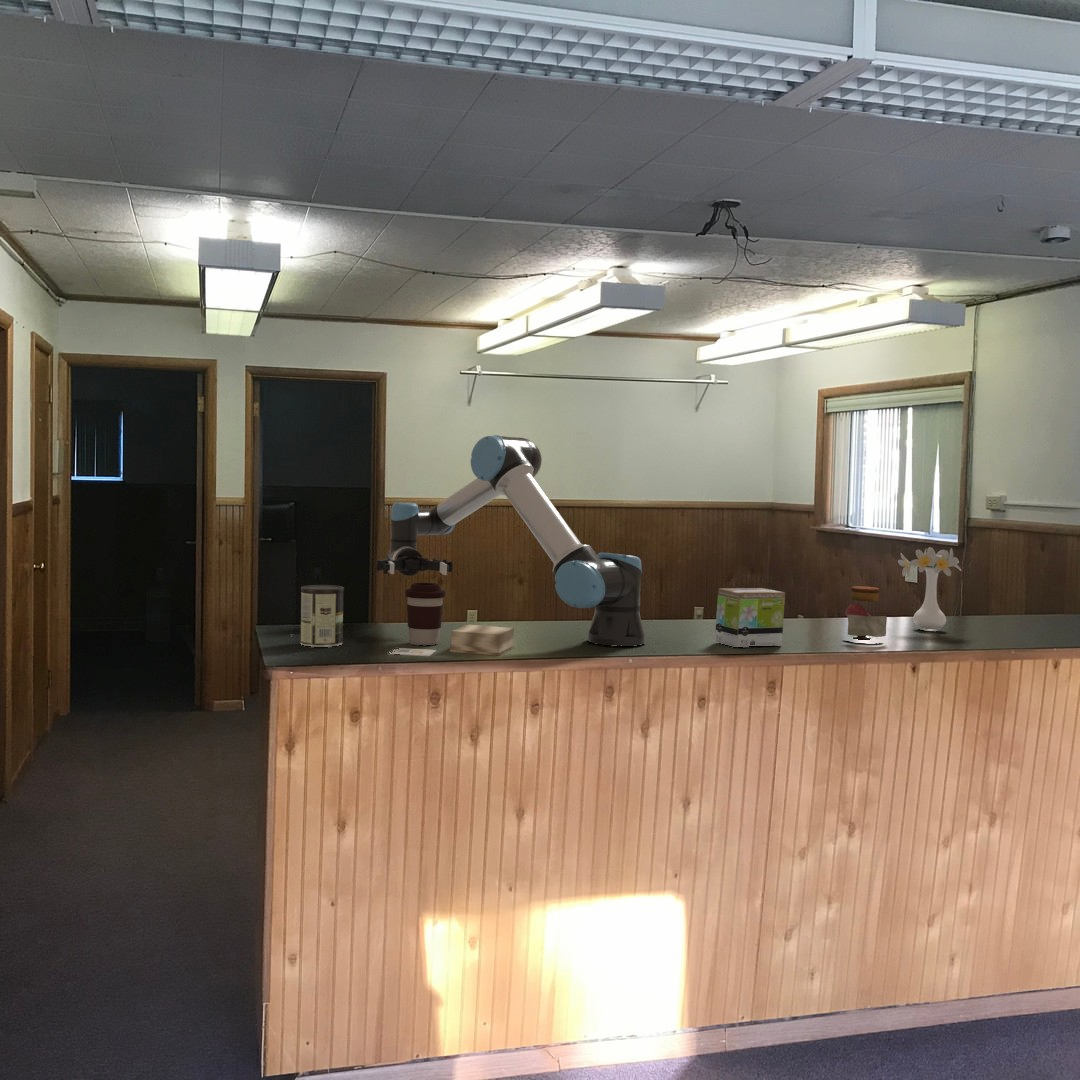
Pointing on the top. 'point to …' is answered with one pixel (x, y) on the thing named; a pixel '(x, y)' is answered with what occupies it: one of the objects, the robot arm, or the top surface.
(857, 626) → the brown red grey stack
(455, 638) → the tan flat block
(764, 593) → the tea box
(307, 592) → the coffee can
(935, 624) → the flower vase
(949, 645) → the top surface
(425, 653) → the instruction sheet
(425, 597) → the coffee cup
